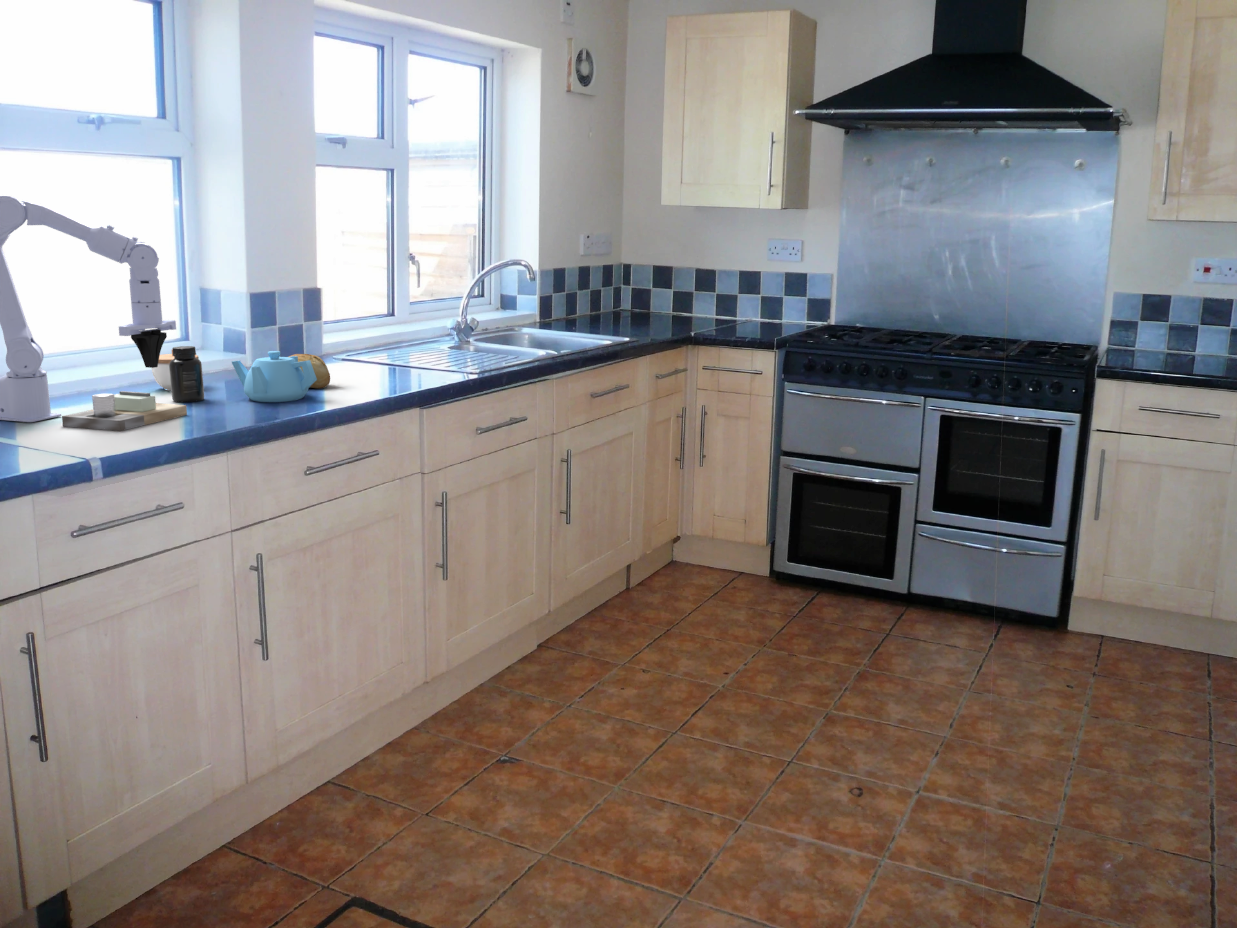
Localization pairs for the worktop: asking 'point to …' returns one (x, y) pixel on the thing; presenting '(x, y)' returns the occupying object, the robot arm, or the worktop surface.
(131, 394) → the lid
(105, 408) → the peg
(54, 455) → the worktop surface
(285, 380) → the teapot
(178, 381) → the supplement bottle
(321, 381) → the bread roll
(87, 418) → the housing
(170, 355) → the lidded jar
